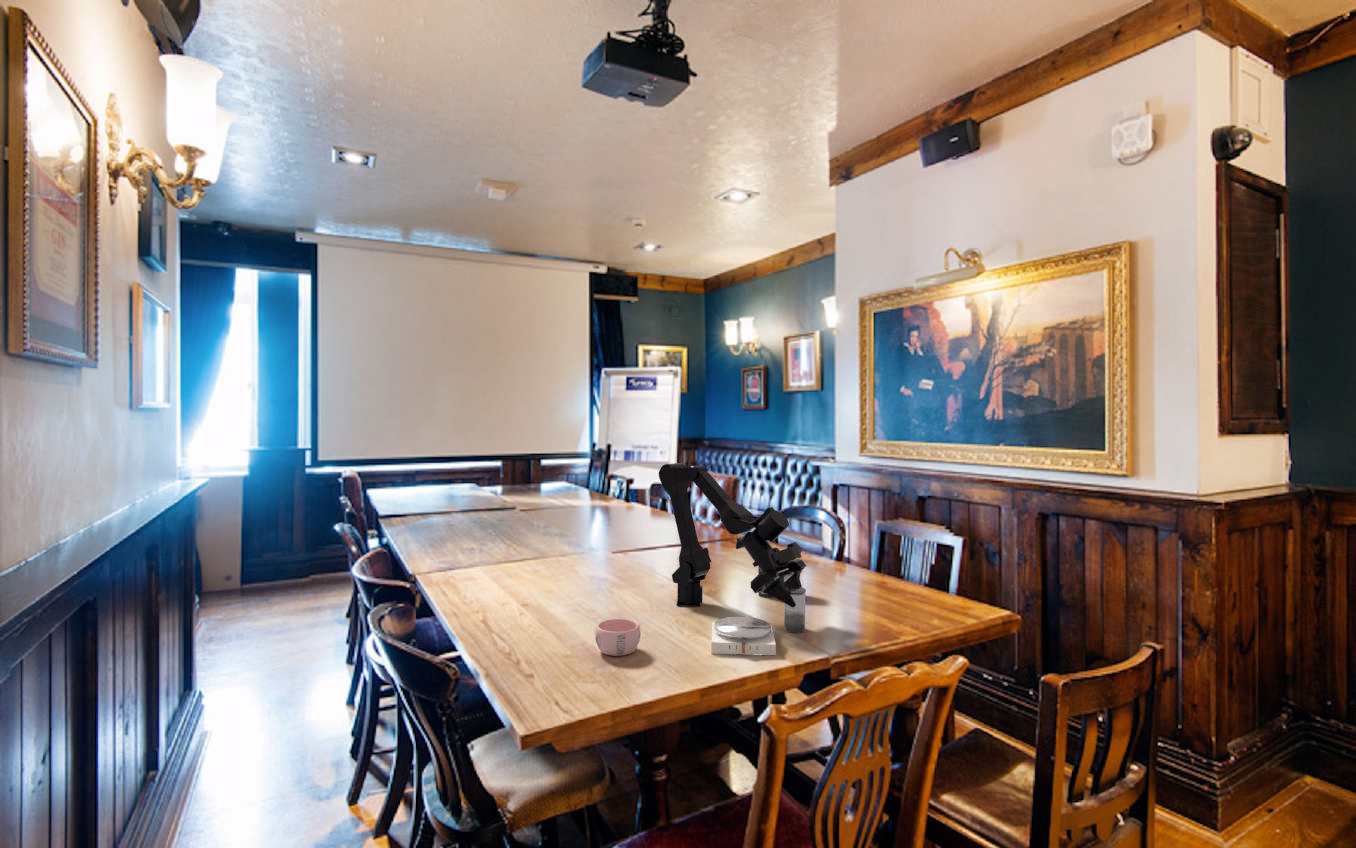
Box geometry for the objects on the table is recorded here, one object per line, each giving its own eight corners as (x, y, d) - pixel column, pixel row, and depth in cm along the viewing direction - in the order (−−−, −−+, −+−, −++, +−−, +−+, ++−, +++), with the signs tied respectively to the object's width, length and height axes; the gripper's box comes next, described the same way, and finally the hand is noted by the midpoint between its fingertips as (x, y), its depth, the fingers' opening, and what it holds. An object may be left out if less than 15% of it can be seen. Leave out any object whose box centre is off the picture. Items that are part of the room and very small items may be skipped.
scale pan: (713, 652, 141) (713, 636, 141) (714, 630, 156) (714, 615, 156) (773, 654, 140) (773, 638, 140) (769, 632, 155) (769, 617, 155)
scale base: (711, 653, 142) (711, 642, 142) (712, 632, 156) (712, 621, 156) (775, 656, 141) (775, 644, 141) (771, 634, 155) (771, 623, 155)
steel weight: (784, 633, 156) (785, 591, 156) (782, 625, 161) (783, 586, 161) (806, 633, 156) (807, 592, 156) (803, 626, 161) (804, 586, 161)
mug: (645, 657, 140) (645, 630, 140) (600, 662, 136) (600, 634, 136) (631, 639, 151) (631, 613, 151) (589, 643, 148) (589, 617, 148)
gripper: (761, 538, 154) (802, 593, 147) (800, 528, 168) (839, 577, 161) (733, 566, 159) (772, 620, 152) (773, 553, 173) (809, 602, 166)
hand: (799, 604), depth 158 cm, fingers closed on steel weight, 5 cm apart
